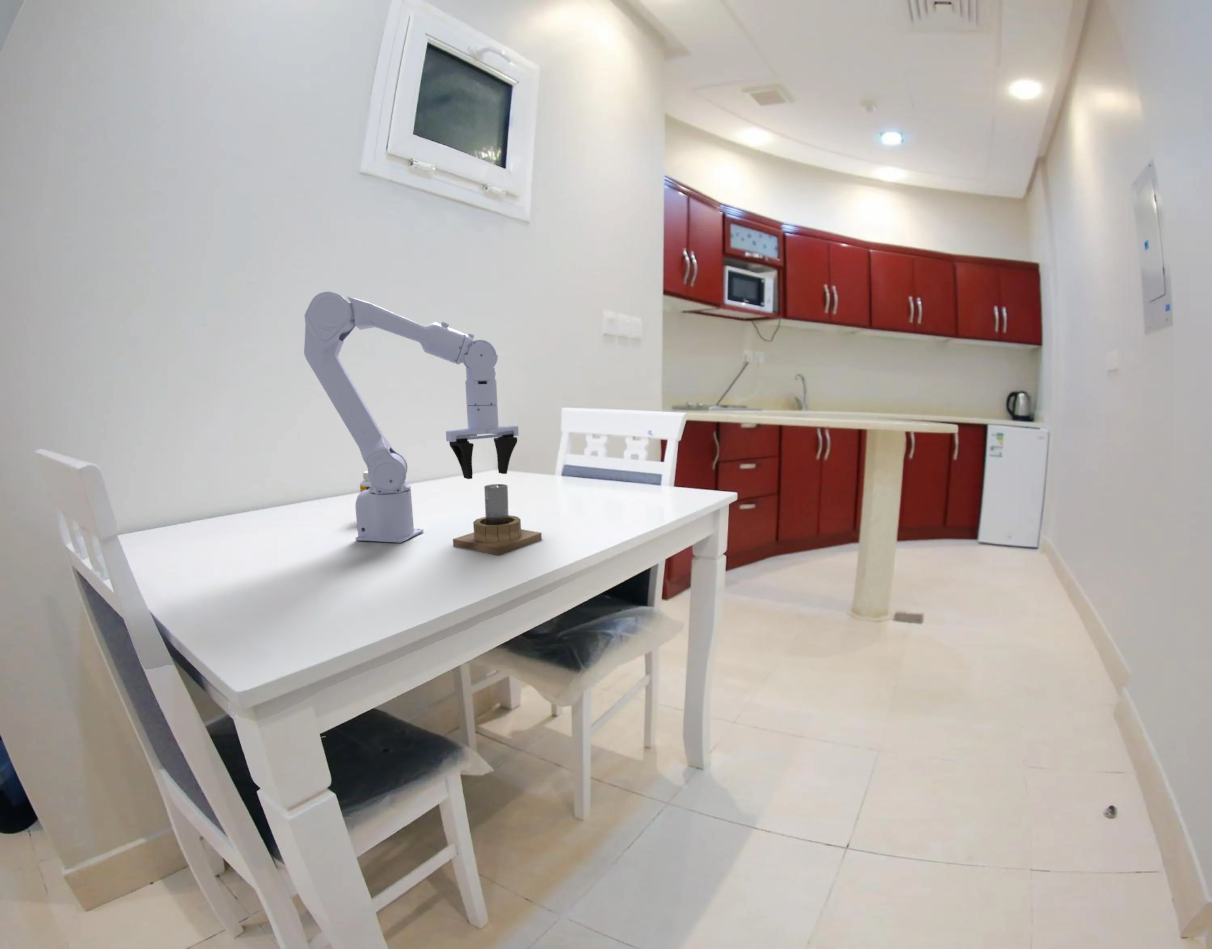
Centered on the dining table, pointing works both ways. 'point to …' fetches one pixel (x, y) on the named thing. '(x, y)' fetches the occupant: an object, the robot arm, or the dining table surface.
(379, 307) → the robot arm
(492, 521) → the steel pin
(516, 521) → the socket block
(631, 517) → the dining table surface
